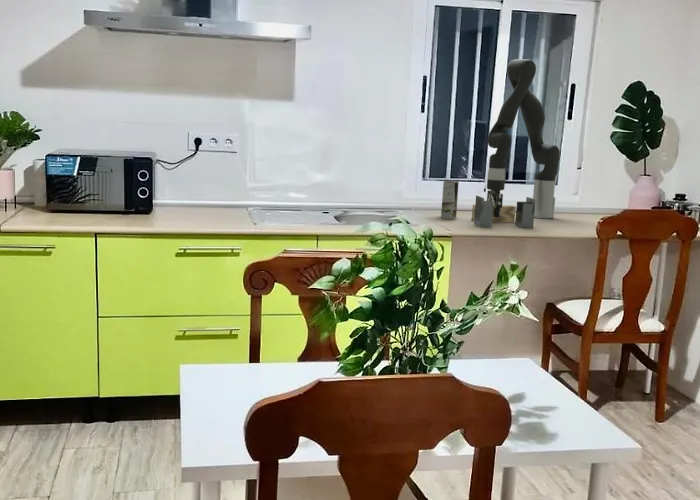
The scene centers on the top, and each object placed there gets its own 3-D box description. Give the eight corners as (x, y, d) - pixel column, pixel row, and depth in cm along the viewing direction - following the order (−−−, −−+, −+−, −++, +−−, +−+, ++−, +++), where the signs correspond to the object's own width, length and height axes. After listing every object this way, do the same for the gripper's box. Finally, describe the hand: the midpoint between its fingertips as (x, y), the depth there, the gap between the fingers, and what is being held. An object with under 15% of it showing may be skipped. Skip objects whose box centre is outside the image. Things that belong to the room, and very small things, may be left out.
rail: (511, 221, 332) (512, 205, 331) (514, 222, 328) (515, 206, 327) (471, 220, 330) (472, 204, 328) (474, 221, 326) (475, 205, 325)
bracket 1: (479, 227, 310) (481, 198, 308) (473, 224, 318) (476, 195, 315) (491, 227, 311) (493, 198, 308) (485, 224, 318) (487, 196, 316)
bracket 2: (526, 225, 321) (528, 197, 318) (533, 228, 313) (535, 199, 311) (515, 224, 320) (517, 196, 318) (521, 227, 312) (524, 199, 310)
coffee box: (455, 219, 328) (457, 182, 325) (440, 218, 330) (442, 181, 327) (456, 216, 337) (459, 180, 334) (442, 215, 338) (444, 180, 335)
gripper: (510, 180, 319) (506, 218, 322) (499, 177, 333) (496, 213, 336) (492, 180, 318) (490, 218, 321) (482, 176, 332) (480, 213, 335)
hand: (493, 215), depth 328 cm, fingers open, 8 cm apart
